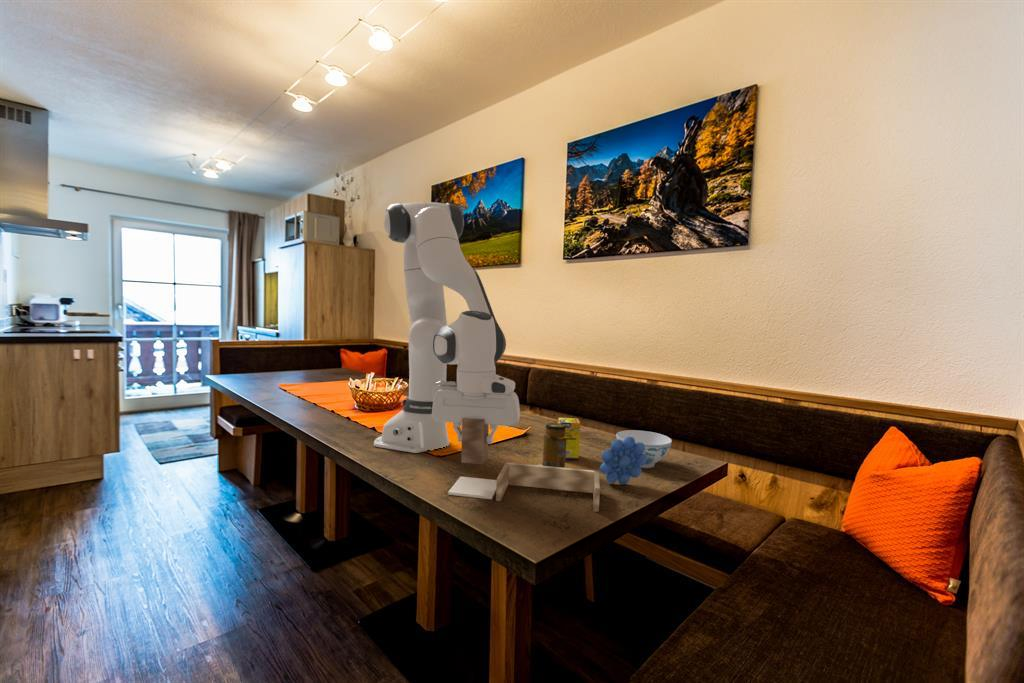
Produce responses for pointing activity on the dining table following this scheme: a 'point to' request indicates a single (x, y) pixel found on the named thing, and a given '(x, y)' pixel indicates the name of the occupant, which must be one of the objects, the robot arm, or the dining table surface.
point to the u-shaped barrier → (549, 479)
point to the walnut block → (474, 441)
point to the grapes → (623, 460)
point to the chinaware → (649, 444)
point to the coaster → (474, 488)
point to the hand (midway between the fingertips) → (475, 442)
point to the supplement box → (571, 437)
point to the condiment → (554, 445)
